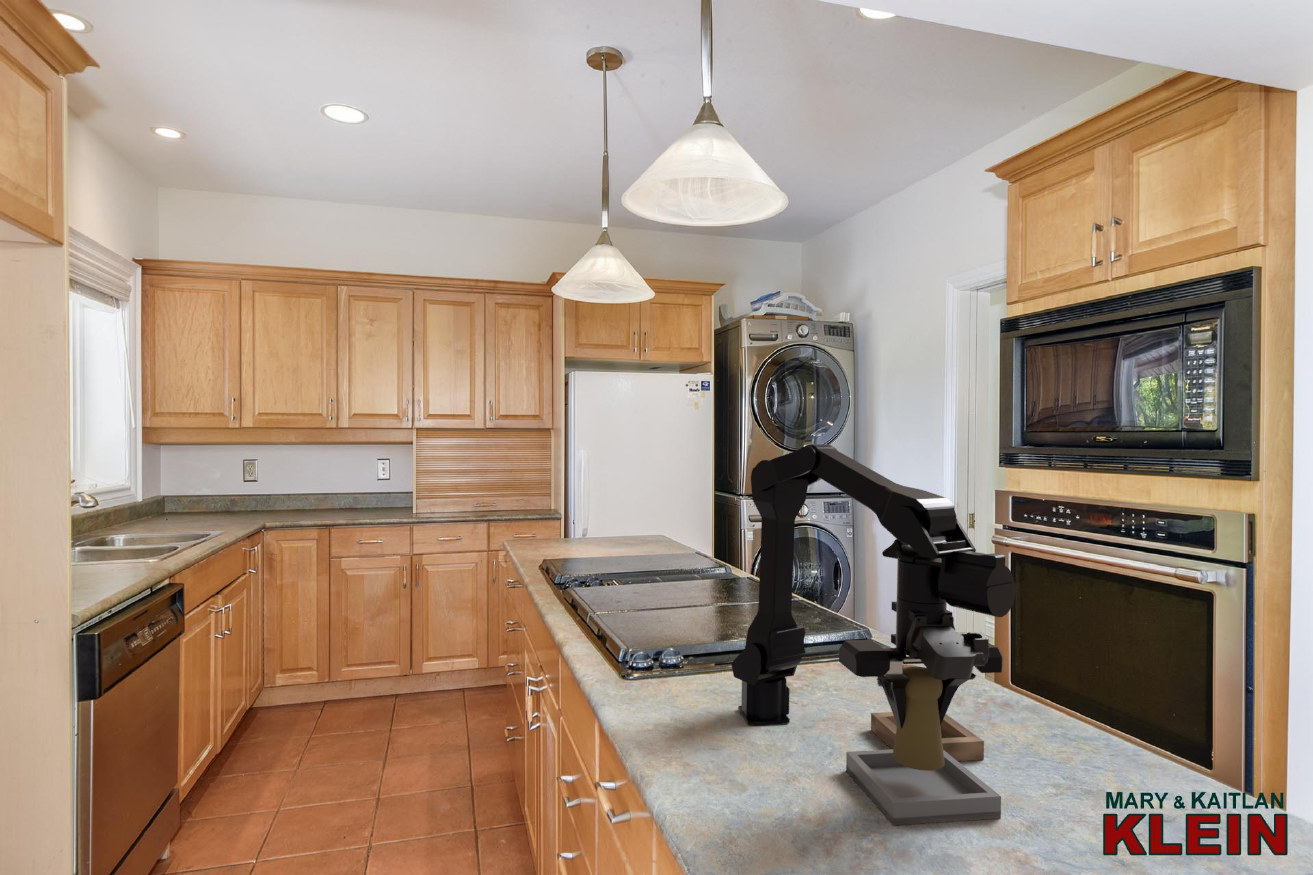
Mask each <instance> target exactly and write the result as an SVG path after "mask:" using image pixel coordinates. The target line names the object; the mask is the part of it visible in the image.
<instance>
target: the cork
mask: <svg viewBox="0 0 1313 875" xmlns="http://www.w3.org/2000/svg"><path fill="white" fill-rule="evenodd" d="M918 666H919V665H915V666H910V667H905V668H903V674H904V675H905V676H907V677H908V678H909V679H910V680H909V682H908V683H907V685H906V687H905V721H904V724H903V727H902V728H900V727H899V726H898V725H897V729H896V736H895V742H894V748H893V758H894V760H896V761H897V762H898V763H900V764H902V765H904V766H906V767H909V768H912V769H917V770H925V771H932V770H938V769H941V768H943V766H944V765H945V761H944V753H943V744H942V738H943V736H942V735H941V727H940V718H939V710H938V701H937V699H938V698H939V697H940V696H941V693H942V687H943V685H942V680H938V679H935V678H934V677H932V676H931V675H930V674H929V672H928V669H927V668H926V666H925V667H923V666H919V667H918Z"/></svg>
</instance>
